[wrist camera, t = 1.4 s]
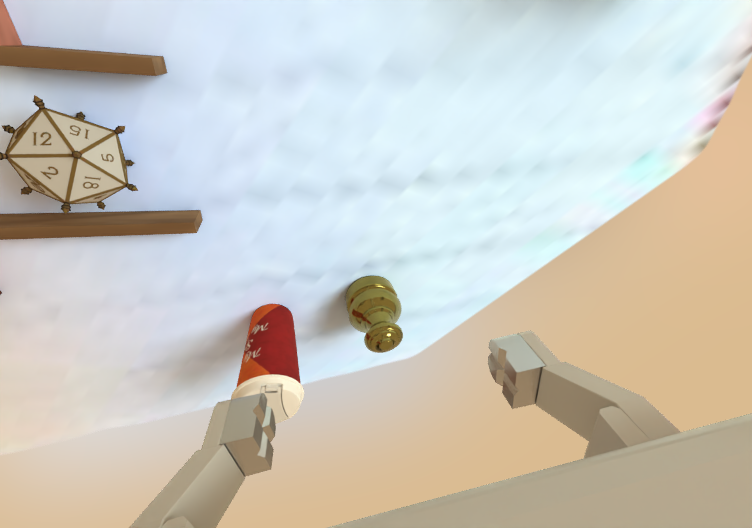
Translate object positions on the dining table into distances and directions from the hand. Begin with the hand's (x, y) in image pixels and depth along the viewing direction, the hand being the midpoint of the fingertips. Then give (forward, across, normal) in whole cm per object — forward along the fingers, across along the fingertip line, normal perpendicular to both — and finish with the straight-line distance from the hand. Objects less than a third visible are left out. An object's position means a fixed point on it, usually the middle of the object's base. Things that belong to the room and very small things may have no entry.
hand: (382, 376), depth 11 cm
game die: (+28, +21, -7) cm, 36 cm away
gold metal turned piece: (+31, -2, +18) cm, 36 cm away
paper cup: (+31, +13, +19) cm, 38 cm away
